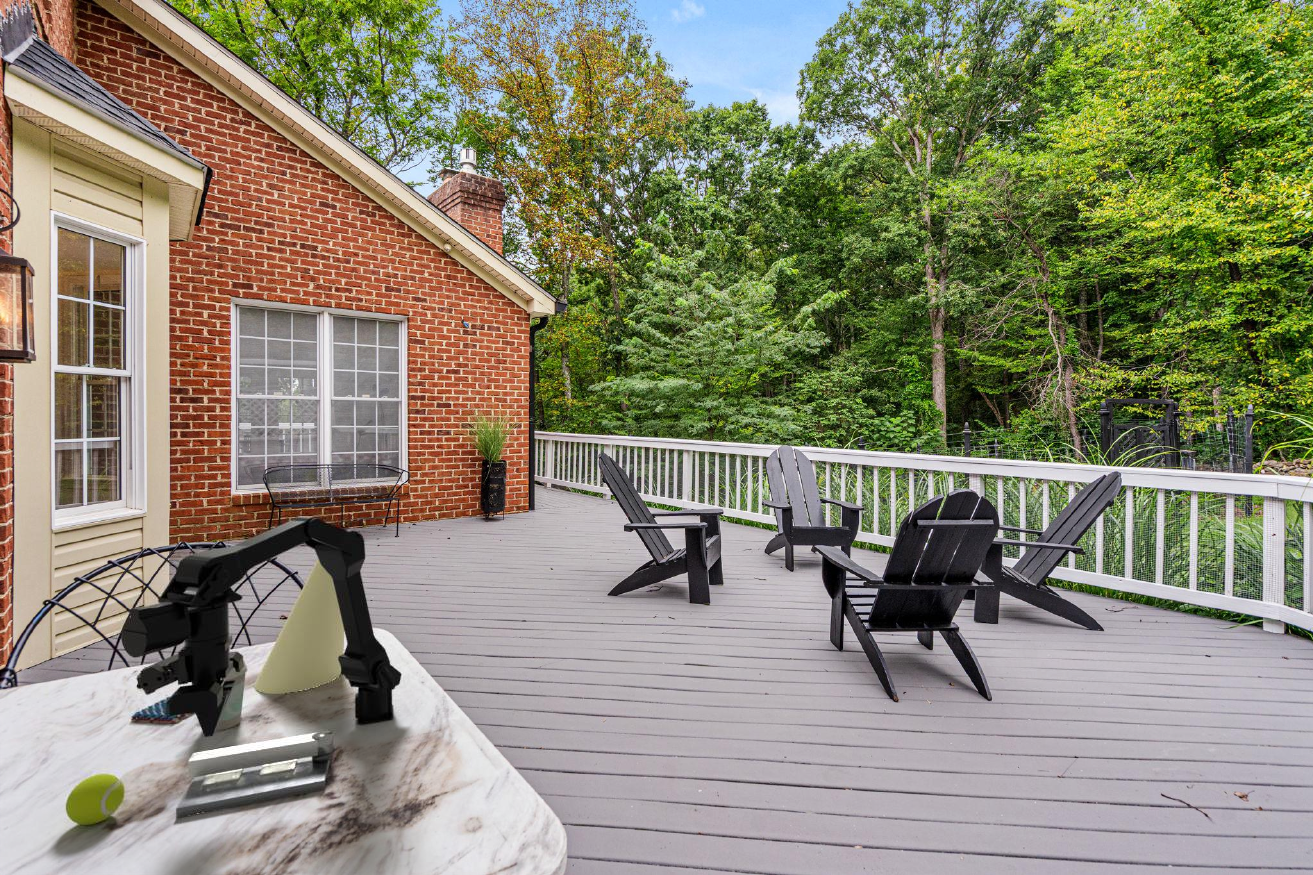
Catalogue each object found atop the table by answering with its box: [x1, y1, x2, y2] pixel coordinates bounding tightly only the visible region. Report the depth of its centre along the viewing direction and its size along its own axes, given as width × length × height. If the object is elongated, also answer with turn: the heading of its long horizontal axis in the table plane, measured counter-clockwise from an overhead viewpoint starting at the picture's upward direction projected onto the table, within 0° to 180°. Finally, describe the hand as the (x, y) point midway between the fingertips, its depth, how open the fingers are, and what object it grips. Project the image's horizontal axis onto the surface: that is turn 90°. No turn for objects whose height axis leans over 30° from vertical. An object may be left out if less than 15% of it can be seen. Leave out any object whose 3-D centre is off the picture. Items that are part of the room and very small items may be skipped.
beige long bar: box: [187, 730, 334, 779], centre depth 110 cm, size 21×3×3 cm, turn 112°
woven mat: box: [130, 695, 193, 724], centre depth 136 cm, size 10×11×2 cm
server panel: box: [175, 749, 334, 819], centre depth 110 cm, size 21×16×2 cm
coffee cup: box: [215, 659, 248, 732], centre depth 129 cm, size 8×8×12 cm
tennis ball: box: [65, 773, 125, 826], centre depth 98 cm, size 7×7×7 cm
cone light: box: [253, 558, 345, 695], centre depth 152 cm, size 25×18×35 cm
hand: (209, 735), depth 102 cm, fingers closed
